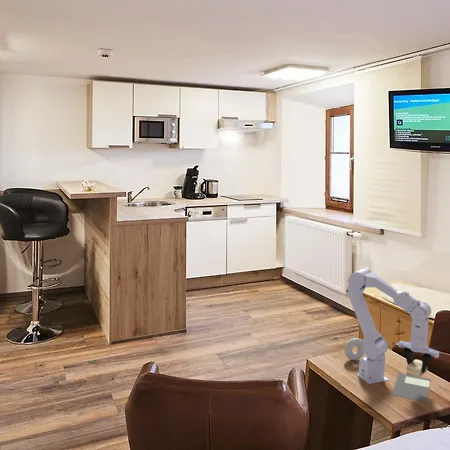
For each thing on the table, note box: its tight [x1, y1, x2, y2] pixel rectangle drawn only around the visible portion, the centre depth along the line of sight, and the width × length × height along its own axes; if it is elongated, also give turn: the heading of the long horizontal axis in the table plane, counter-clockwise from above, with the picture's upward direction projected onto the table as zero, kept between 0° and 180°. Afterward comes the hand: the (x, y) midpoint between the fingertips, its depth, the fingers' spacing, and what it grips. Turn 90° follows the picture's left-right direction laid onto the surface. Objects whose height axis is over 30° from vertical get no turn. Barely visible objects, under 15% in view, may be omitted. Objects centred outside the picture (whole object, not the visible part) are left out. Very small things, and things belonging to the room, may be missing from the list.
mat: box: [391, 372, 431, 404], centre depth 182 cm, size 20×12×1 cm, turn 154°
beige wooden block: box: [406, 359, 428, 378], centre depth 179 cm, size 8×4×3 cm, turn 136°
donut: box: [343, 337, 365, 361], centre depth 206 cm, size 10×4×10 cm, turn 108°
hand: (416, 370), depth 179 cm, fingers closed on beige wooden block, 4 cm apart
